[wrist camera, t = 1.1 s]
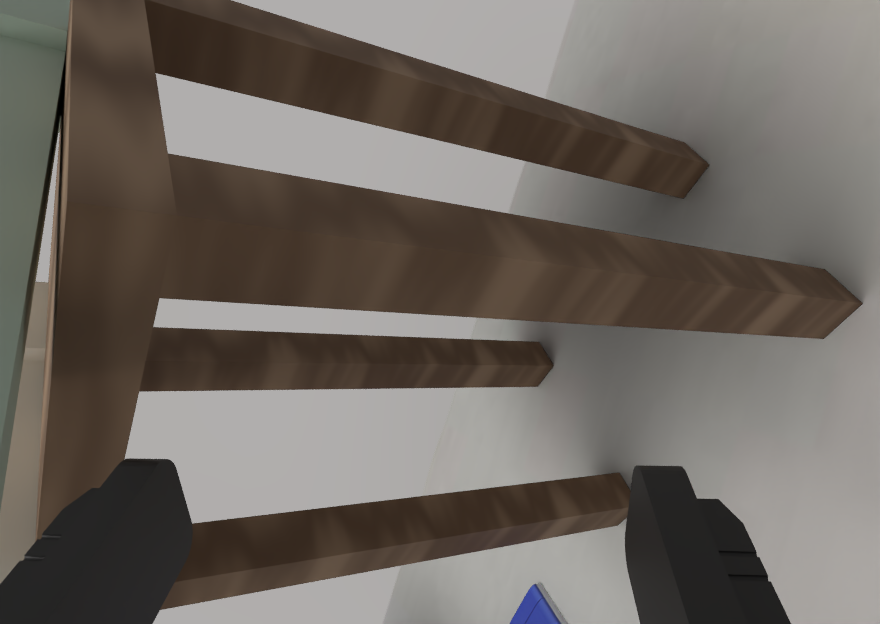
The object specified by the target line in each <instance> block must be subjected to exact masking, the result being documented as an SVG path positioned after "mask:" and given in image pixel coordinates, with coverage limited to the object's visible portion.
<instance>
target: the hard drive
mask: <svg viewBox="0 0 880 624" xmlns="http://www.w3.org/2000/svg"><path fill="white" fill-rule="evenodd" d="M510 624H567V622H566V621H565V619H564V618H563V616H562V615H561V613H560V612H559V610H558V609H557V607H556V605H555V604H554V602H553V601H552V599H551V598H550V596H549V595H548V593H547V592H546V590H545V589H544V587H543V586H542V584H541V583H538V584H534V585H533V586H532V587H531V588H530V589H529V591H528V592H527V594H526V596H525V597H524V599H523V601H522V603H521V604H520V606H519V608H518V610H517V611H516V613H515V615H514V617H513V618H512V620H511V622H510Z"/></svg>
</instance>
